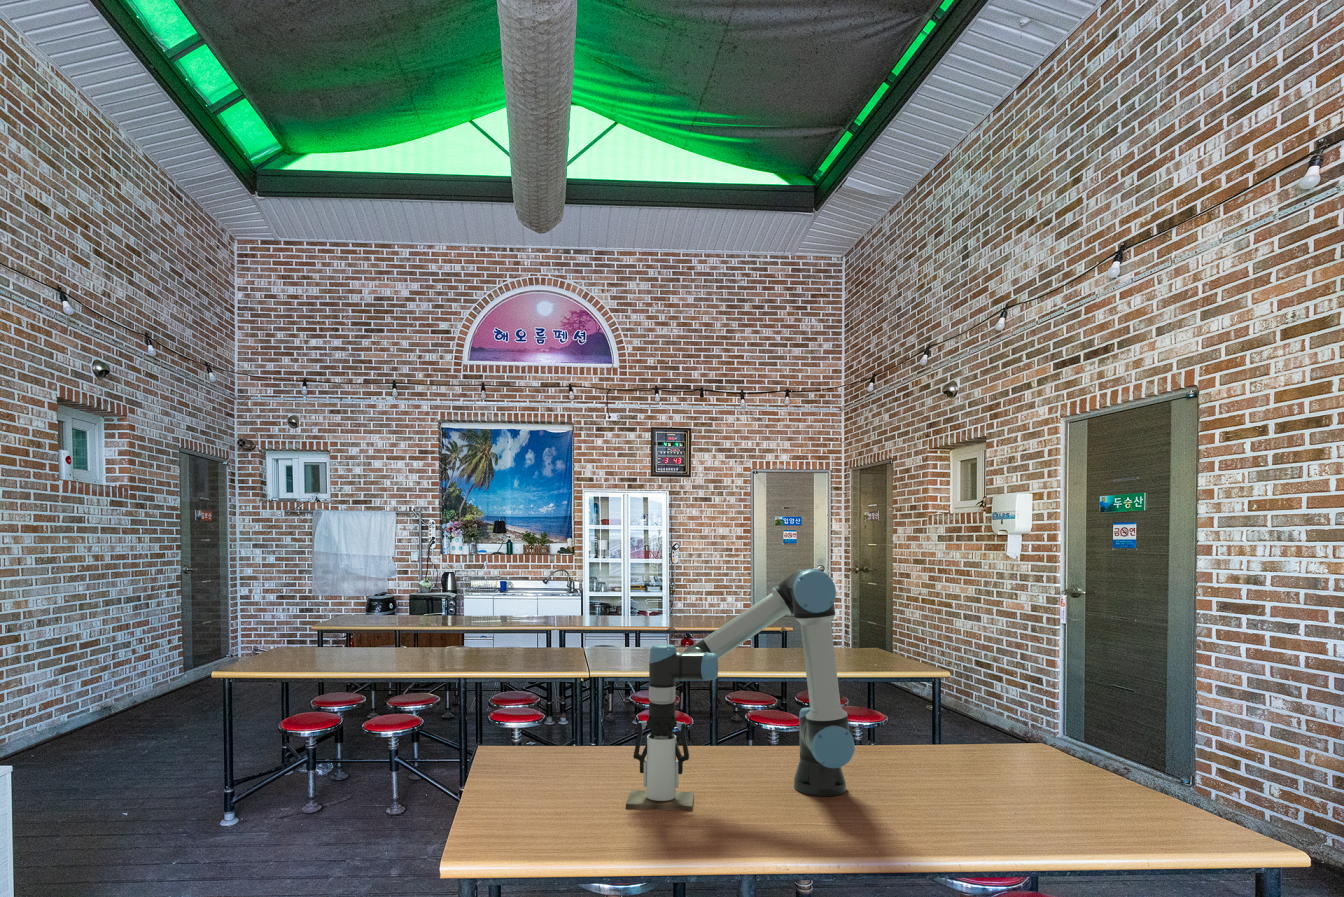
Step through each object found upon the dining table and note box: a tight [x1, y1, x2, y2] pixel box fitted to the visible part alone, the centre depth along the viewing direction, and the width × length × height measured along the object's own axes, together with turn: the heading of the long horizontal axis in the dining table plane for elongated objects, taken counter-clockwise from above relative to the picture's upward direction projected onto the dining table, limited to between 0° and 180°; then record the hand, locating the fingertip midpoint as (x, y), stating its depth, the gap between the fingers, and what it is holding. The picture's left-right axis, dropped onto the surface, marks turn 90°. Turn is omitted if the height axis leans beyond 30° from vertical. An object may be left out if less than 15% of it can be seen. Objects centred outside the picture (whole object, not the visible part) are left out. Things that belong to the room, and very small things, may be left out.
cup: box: [645, 733, 677, 801], centre depth 214 cm, size 8×8×16 cm
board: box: [625, 789, 695, 812], centre depth 213 cm, size 18×12×1 cm, turn 87°
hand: (661, 785), depth 213 cm, fingers closed on cup, 8 cm apart
